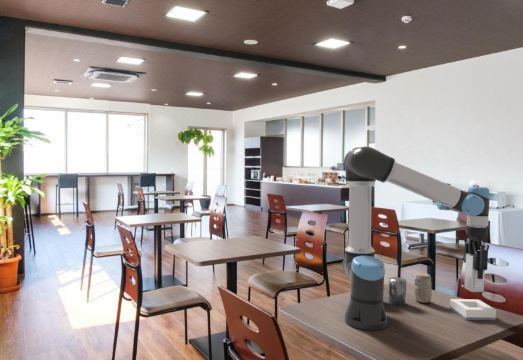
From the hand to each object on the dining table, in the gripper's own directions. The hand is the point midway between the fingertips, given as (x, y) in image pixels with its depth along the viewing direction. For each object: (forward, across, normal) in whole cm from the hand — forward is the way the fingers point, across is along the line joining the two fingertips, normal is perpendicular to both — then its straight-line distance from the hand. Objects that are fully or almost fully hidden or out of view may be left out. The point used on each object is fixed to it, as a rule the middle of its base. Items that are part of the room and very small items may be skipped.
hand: (474, 284), depth 165 cm
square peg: (+2, 0, 0) cm, 2 cm away
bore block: (+12, 0, 0) cm, 12 cm away
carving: (+12, +14, +14) cm, 23 cm away
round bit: (+12, +12, +26) cm, 31 cm away
